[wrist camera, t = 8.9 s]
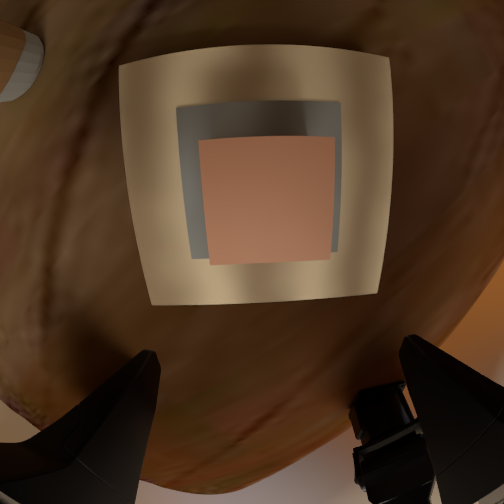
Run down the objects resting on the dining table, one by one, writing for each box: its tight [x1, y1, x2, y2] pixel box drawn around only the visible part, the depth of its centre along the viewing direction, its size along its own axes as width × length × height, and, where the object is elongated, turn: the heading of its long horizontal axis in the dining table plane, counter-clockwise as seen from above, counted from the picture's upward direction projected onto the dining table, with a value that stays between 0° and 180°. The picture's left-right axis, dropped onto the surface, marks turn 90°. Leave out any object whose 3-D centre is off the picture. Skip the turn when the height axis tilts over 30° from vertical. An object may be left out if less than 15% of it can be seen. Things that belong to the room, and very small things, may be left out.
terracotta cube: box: [198, 136, 335, 265], centre depth 13 cm, size 5×5×5 cm
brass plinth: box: [119, 44, 393, 305], centre depth 16 cm, size 16×16×3 cm
